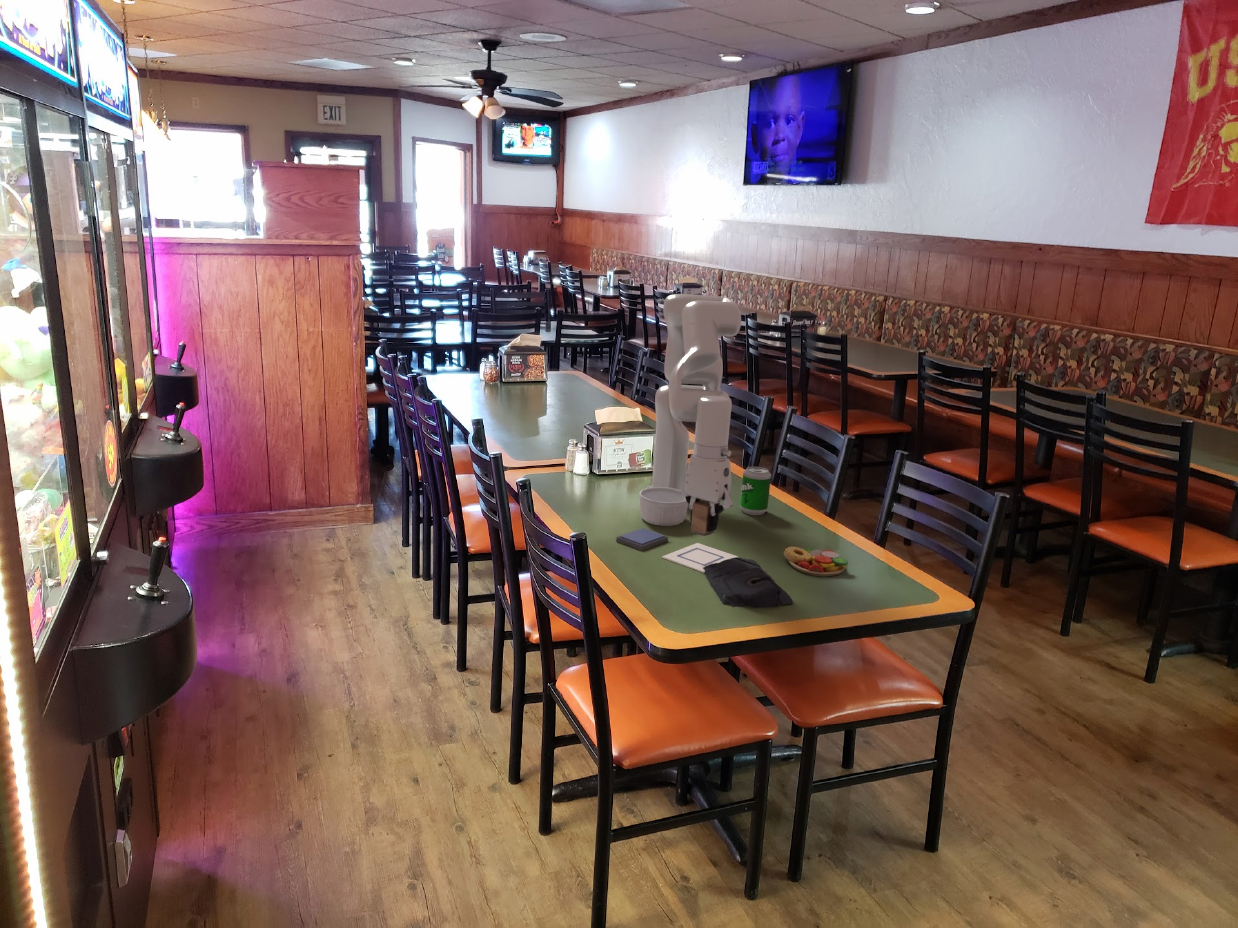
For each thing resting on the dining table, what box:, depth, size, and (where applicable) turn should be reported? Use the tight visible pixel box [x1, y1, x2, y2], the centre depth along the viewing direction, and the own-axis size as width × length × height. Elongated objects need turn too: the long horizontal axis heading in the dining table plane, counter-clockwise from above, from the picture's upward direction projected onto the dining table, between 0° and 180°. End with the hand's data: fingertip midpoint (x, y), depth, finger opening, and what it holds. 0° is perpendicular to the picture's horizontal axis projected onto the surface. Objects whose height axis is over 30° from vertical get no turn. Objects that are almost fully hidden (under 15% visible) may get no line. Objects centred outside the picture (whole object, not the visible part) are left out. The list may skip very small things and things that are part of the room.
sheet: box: [661, 542, 739, 574], centre depth 207 cm, size 14×12×1 cm
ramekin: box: [638, 487, 689, 527], centre depth 231 cm, size 13×13×7 cm
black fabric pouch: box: [703, 556, 794, 609], centre depth 191 cm, size 15×22×5 cm
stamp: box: [690, 500, 715, 537], centre depth 204 cm, size 4×4×7 cm
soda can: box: [739, 466, 772, 516], centre depth 242 cm, size 8×8×12 cm
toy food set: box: [783, 546, 849, 577], centre depth 206 cm, size 13×13×3 cm
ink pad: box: [615, 527, 669, 551], centre depth 215 cm, size 10×8×1 cm
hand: (703, 527), depth 205 cm, fingers closed on stamp, 4 cm apart
